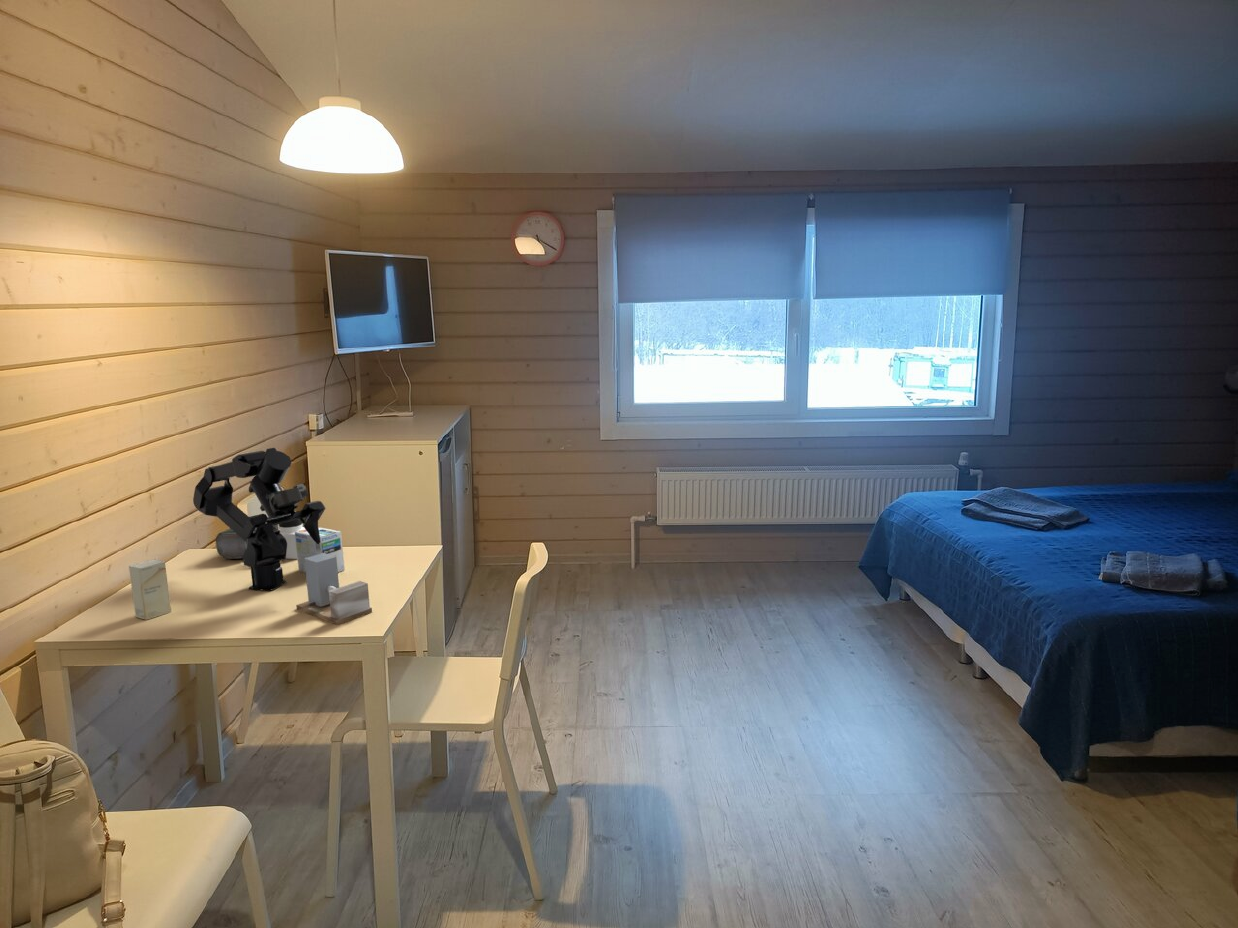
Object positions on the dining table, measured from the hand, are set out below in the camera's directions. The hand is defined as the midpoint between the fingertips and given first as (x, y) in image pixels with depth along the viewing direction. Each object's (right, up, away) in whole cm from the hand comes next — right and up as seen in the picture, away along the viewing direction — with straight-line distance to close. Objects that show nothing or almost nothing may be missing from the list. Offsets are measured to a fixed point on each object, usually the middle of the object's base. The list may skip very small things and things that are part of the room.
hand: (301, 547), depth 201 cm
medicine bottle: (-16, -6, +38) cm, 41 cm away
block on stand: (+9, -14, -4) cm, 17 cm away
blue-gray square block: (+6, -12, -3) cm, 14 cm away
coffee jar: (-31, -3, +32) cm, 45 cm away
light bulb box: (-4, -8, +24) cm, 26 cm away
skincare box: (-32, -15, -4) cm, 36 cm away
